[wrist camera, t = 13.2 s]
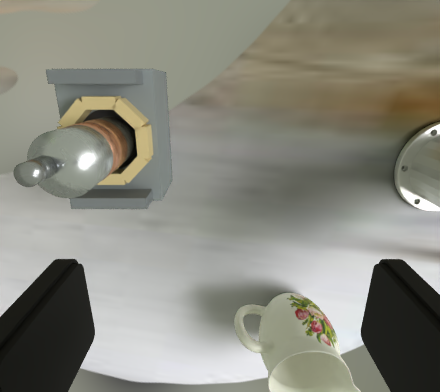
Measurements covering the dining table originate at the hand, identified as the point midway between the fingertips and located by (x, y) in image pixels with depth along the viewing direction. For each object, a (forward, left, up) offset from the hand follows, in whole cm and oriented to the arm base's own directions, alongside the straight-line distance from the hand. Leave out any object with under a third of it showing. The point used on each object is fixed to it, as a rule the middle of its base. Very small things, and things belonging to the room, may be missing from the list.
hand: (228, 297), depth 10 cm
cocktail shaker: (+12, -1, -24) cm, 27 cm away
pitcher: (-10, +28, -32) cm, 44 cm away
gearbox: (+12, -1, -32) cm, 34 cm away
